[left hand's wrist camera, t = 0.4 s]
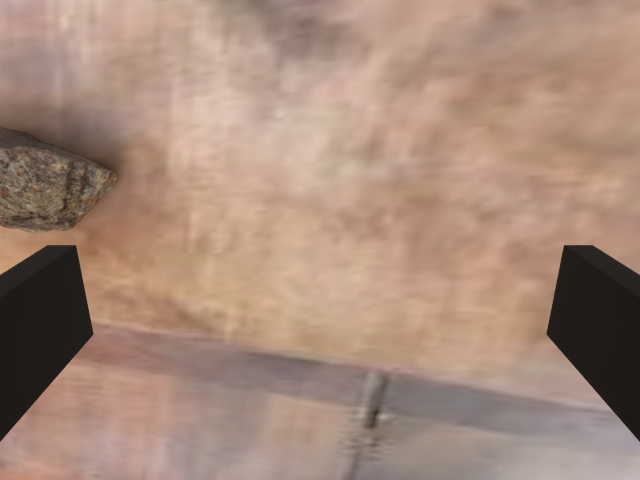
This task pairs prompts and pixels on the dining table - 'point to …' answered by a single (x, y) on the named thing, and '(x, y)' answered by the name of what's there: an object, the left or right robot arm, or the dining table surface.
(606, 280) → the left robot arm
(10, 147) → the rock
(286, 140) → the dining table surface
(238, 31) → the dining table surface
